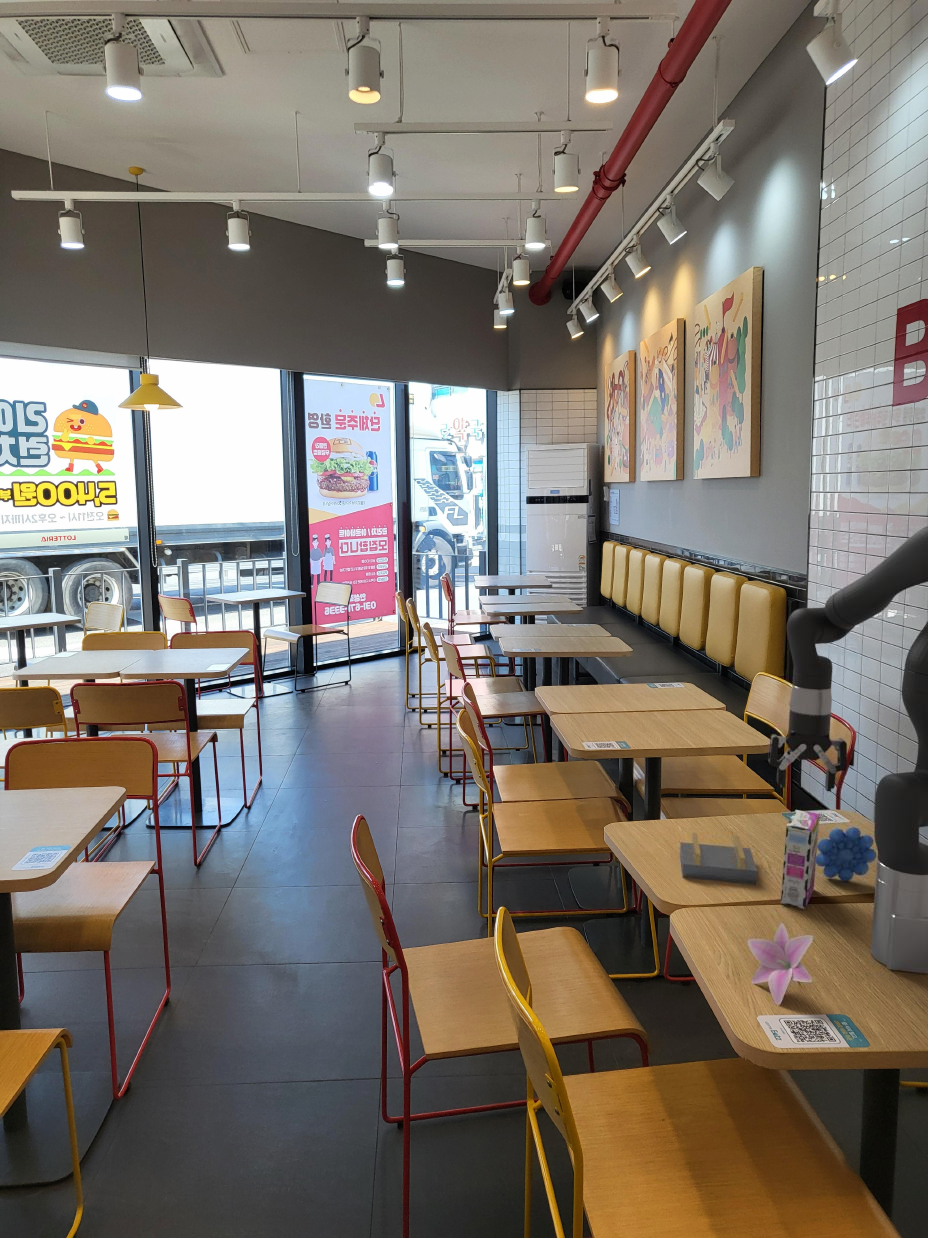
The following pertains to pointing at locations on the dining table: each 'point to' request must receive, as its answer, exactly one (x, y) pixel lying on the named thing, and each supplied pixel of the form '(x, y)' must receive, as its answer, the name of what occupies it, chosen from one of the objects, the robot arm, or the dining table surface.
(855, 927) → the dining table surface
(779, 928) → the lily
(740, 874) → the dock
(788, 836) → the candy bar box
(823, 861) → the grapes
